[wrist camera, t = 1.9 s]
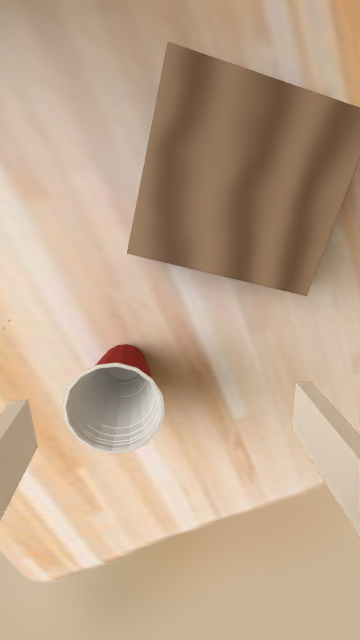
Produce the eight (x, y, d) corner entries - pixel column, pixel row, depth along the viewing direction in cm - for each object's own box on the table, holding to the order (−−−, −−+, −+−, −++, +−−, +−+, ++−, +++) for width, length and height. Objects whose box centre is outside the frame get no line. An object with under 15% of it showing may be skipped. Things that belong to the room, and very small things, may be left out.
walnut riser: (132, 245, 40) (126, 253, 32) (164, 78, 34) (167, 41, 27) (279, 280, 43) (306, 296, 35) (331, 133, 37) (376, 113, 30)
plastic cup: (148, 315, 43) (147, 353, 31) (171, 382, 46) (177, 438, 35) (72, 338, 43) (43, 384, 32) (101, 403, 47) (84, 465, 35)
